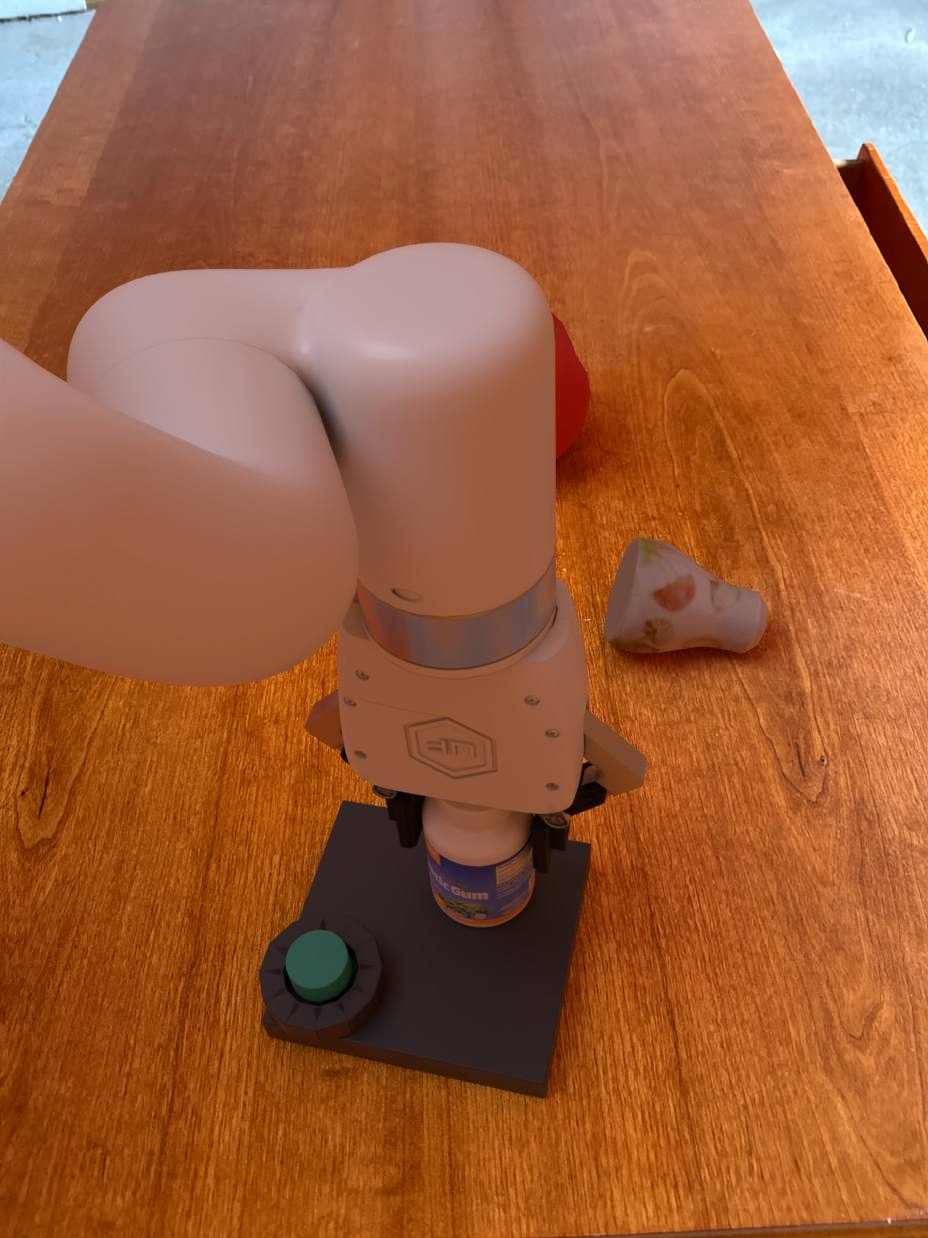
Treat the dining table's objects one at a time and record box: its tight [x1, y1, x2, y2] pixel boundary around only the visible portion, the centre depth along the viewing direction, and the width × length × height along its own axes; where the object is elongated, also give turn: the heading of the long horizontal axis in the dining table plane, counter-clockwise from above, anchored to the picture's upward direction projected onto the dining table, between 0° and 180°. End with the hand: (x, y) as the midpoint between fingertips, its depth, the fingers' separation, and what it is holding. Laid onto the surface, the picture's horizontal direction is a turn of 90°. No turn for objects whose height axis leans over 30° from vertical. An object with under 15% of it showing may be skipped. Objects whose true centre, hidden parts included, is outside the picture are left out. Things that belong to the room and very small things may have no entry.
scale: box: [257, 799, 592, 1100], centre depth 58 cm, size 14×13×4 cm
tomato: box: [551, 311, 592, 460], centre depth 82 cm, size 13×14×12 cm
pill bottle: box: [422, 796, 535, 927], centre depth 56 cm, size 5×5×10 cm
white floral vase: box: [603, 537, 769, 654], centre depth 71 cm, size 8×10×10 cm
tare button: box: [286, 930, 352, 1002], centre depth 55 cm, size 3×3×2 cm
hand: (480, 833), depth 56 cm, fingers open, 5 cm apart
